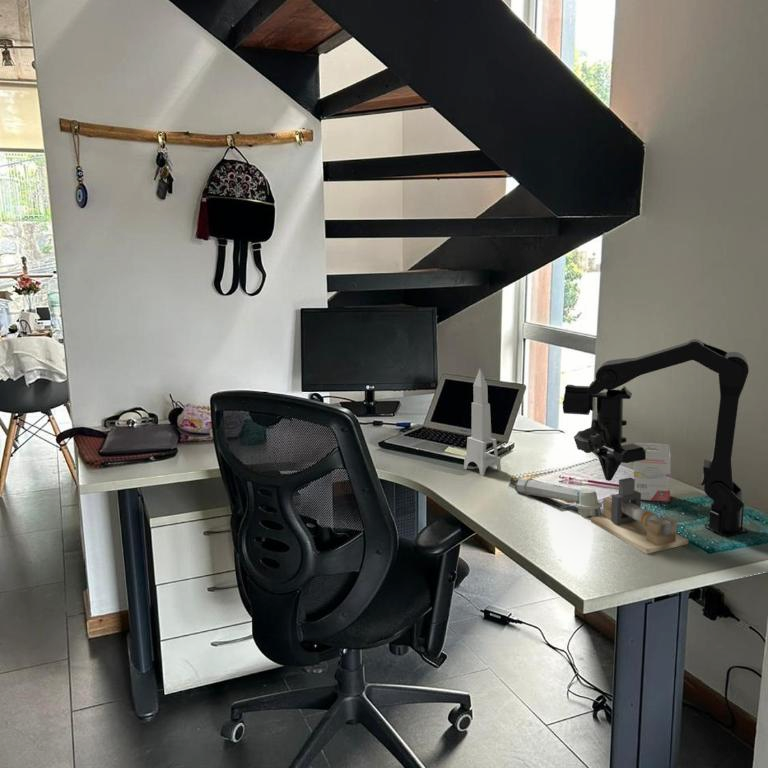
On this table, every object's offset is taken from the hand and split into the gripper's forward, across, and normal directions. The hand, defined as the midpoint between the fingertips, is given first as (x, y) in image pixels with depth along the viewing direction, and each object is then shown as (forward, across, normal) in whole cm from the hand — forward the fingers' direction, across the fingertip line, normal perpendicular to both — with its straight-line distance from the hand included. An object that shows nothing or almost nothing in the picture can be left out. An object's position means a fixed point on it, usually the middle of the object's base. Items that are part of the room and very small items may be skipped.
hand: (608, 480), depth 170 cm
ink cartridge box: (+9, -5, +17) cm, 20 cm away
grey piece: (+10, -12, -6) cm, 17 cm away
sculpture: (+9, -44, -10) cm, 46 cm away
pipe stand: (+9, +10, 0) cm, 14 cm away
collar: (+8, +6, 0) cm, 10 cm away
